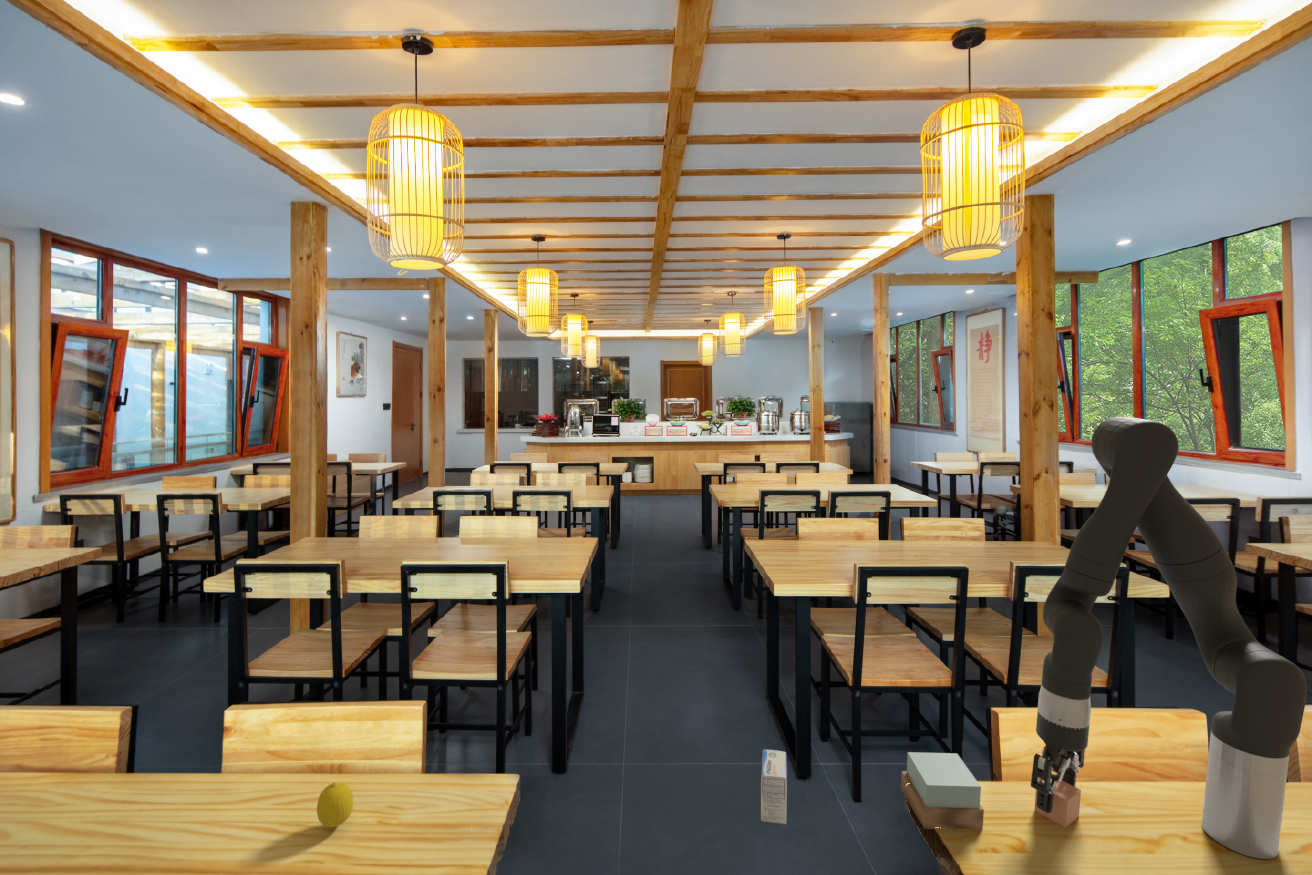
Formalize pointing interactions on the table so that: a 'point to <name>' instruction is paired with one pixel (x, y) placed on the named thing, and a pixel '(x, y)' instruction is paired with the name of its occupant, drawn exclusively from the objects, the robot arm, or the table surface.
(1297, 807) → the table surface
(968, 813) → the tower base block
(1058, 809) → the terracotta block
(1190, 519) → the robot arm
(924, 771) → the tower top block
